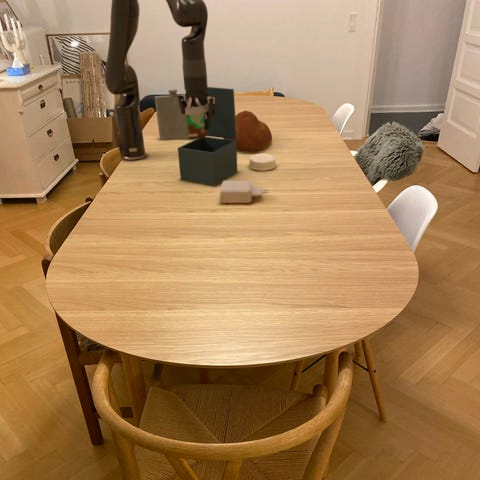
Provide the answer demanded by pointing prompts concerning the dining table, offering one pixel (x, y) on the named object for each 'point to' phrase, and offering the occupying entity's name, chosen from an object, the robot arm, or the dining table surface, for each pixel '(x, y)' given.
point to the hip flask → (171, 117)
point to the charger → (239, 191)
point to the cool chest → (208, 160)
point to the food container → (196, 121)
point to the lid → (223, 114)
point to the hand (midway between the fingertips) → (199, 128)
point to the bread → (251, 132)
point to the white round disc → (262, 162)
